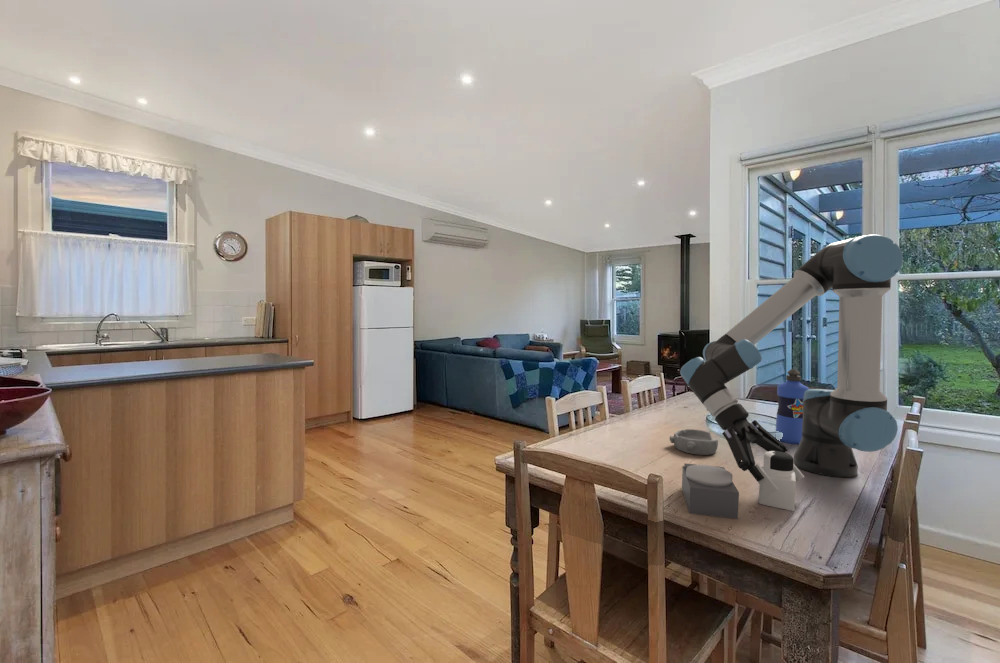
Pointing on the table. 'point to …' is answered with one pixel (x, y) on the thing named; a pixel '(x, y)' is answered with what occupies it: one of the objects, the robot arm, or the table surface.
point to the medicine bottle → (779, 480)
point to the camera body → (709, 491)
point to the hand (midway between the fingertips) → (787, 485)
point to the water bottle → (790, 408)
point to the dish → (694, 442)
